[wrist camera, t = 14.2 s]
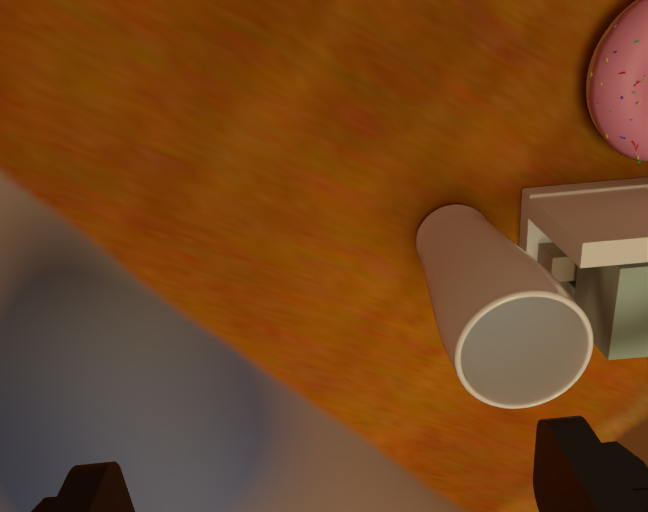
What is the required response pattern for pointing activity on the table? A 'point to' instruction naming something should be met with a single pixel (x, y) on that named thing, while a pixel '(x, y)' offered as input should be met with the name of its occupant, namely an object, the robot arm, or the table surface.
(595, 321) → the olive boxy piece
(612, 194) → the stand
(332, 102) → the table surface
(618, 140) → the doughnut
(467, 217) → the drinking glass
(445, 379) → the table surface
